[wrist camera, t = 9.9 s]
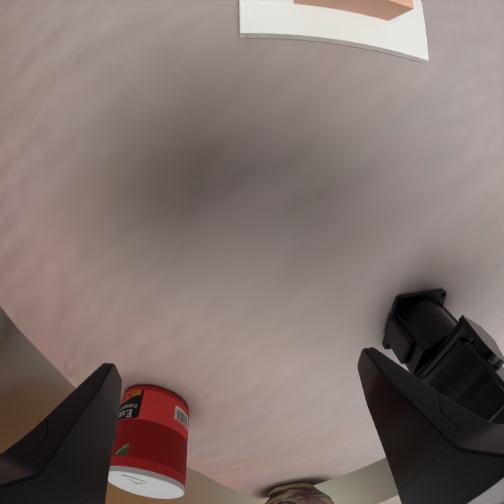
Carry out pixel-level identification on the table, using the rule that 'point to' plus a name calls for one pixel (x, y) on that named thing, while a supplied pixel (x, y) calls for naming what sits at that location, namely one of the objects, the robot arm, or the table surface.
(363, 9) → the base block
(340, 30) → the baseplate
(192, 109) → the table surface
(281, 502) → the ceramic jug
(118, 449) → the canned food
